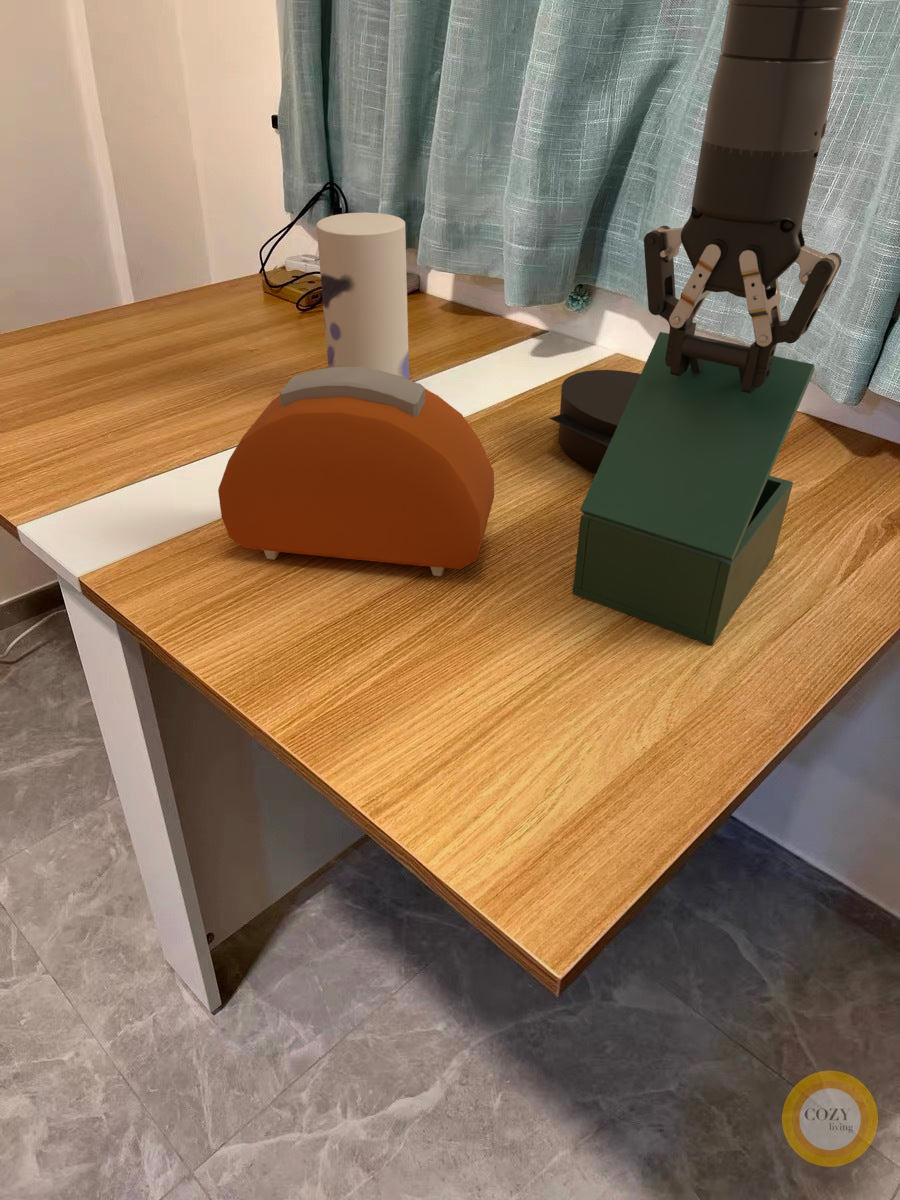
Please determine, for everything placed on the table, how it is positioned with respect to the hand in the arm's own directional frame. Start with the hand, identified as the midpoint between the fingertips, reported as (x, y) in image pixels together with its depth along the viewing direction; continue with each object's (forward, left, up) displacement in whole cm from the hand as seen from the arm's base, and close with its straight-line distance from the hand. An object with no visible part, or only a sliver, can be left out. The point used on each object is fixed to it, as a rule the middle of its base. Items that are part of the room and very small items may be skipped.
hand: (714, 380), depth 68 cm
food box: (0, 0, -18) cm, 18 cm away
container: (+48, -17, -18) cm, 54 cm away
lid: (0, +2, -5) cm, 5 cm away
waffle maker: (+14, -19, -18) cm, 30 cm away
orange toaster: (+26, +12, -18) cm, 34 cm away
